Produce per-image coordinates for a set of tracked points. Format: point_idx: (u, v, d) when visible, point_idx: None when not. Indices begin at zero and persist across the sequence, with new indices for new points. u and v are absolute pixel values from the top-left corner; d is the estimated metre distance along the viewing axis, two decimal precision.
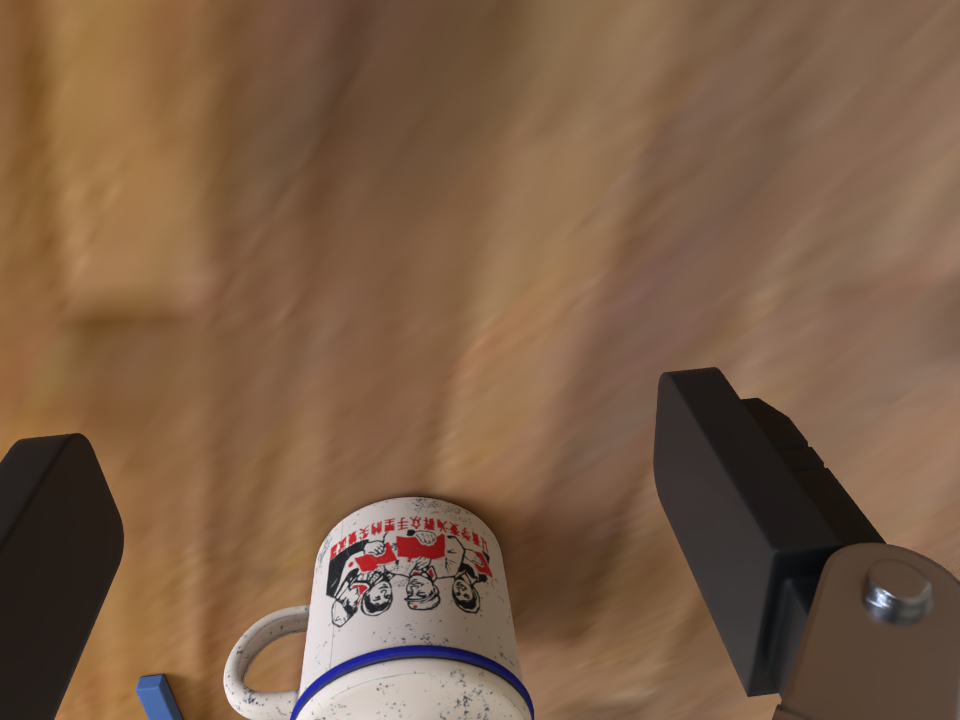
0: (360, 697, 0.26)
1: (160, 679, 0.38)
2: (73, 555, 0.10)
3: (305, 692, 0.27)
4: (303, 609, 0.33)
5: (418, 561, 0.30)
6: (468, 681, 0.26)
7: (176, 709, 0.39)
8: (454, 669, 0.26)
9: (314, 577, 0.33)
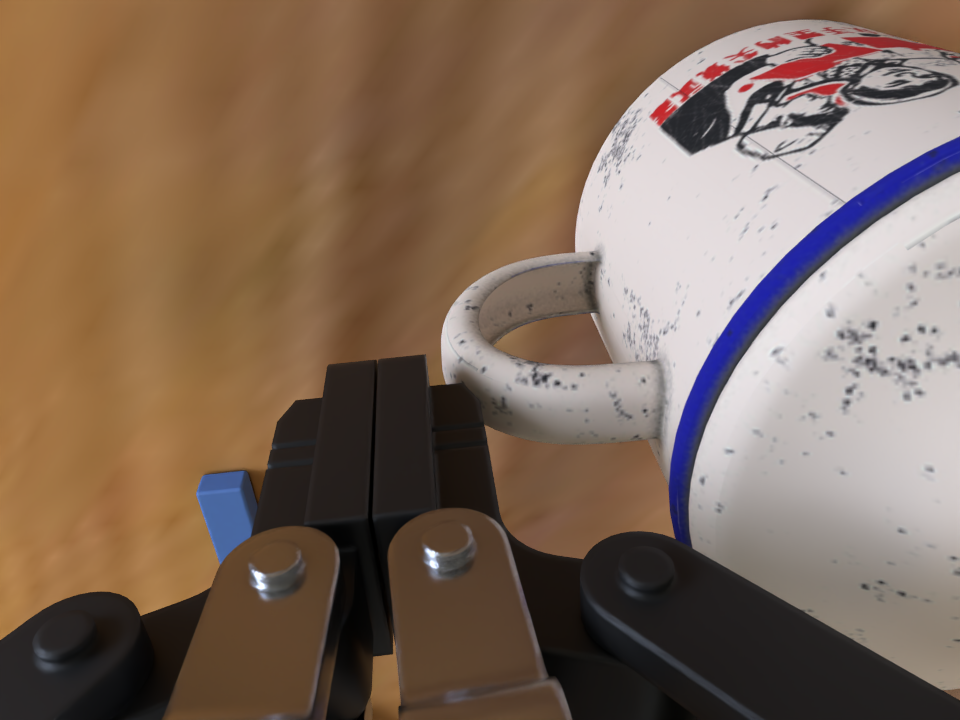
0: None
1: (242, 477, 0.20)
2: None
3: (778, 271, 0.09)
4: (587, 254, 0.15)
5: None
6: None
7: None
8: None
9: (601, 197, 0.15)
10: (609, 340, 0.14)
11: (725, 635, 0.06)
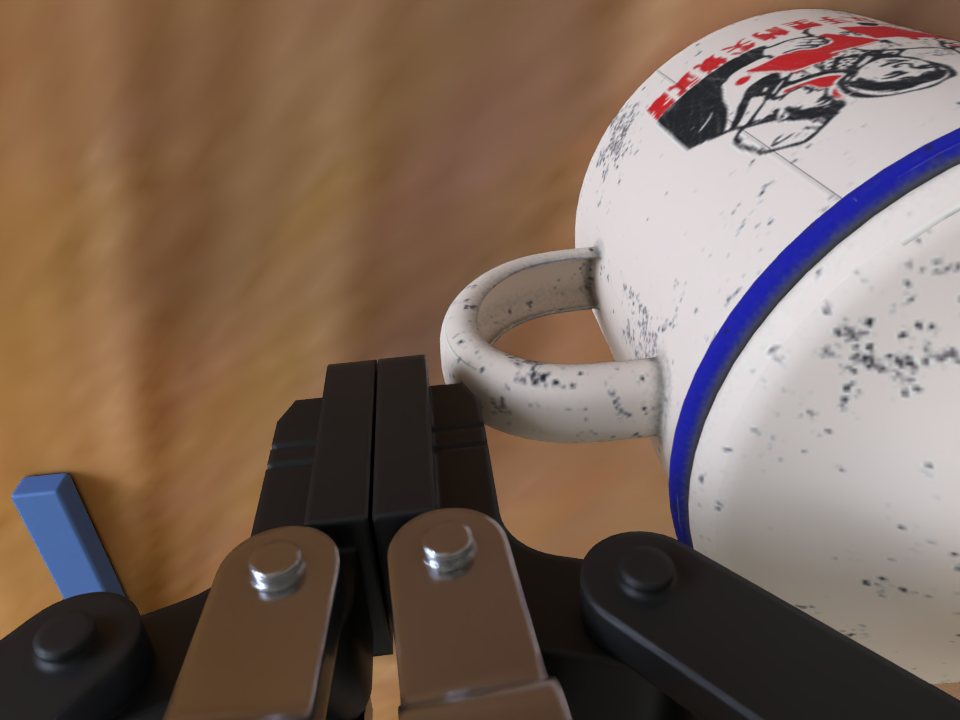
0: None
1: (61, 479, 0.19)
2: None
3: (774, 268, 0.09)
4: (586, 250, 0.14)
5: None
6: None
7: (99, 548, 0.21)
8: None
9: (599, 192, 0.15)
10: (609, 336, 0.14)
11: (725, 635, 0.06)
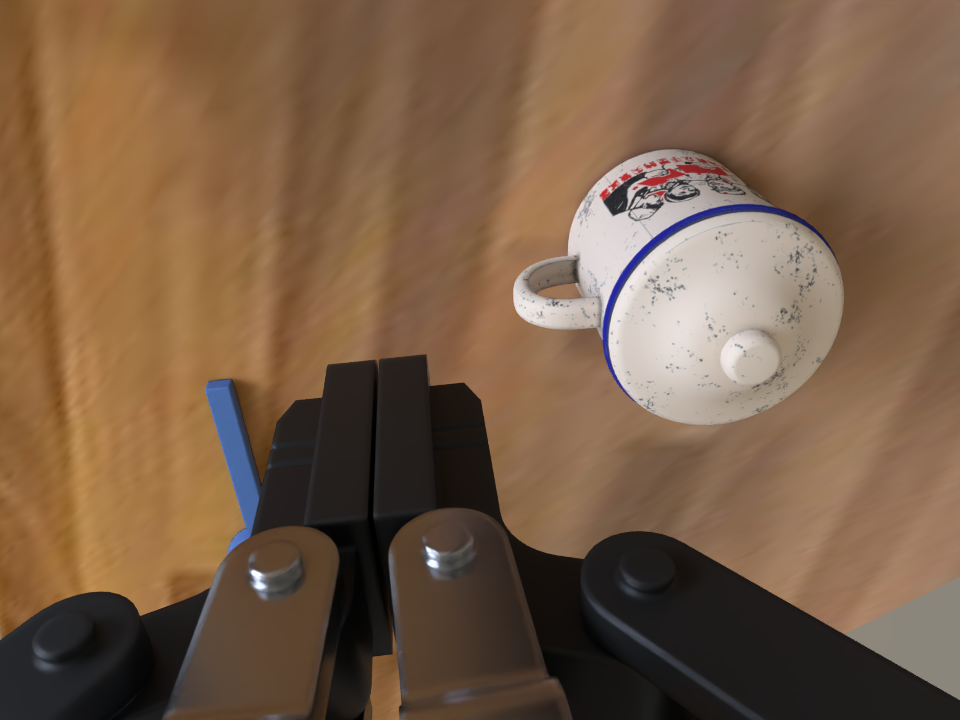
0: (697, 248, 0.26)
1: (229, 382, 0.37)
2: None
3: (631, 261, 0.27)
4: (573, 256, 0.33)
5: (706, 176, 0.30)
6: (801, 236, 0.26)
7: (243, 423, 0.39)
8: (788, 222, 0.26)
9: (579, 230, 0.33)
10: (583, 294, 0.33)
11: (726, 635, 0.06)
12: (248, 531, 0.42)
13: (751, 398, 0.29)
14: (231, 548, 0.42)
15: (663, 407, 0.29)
